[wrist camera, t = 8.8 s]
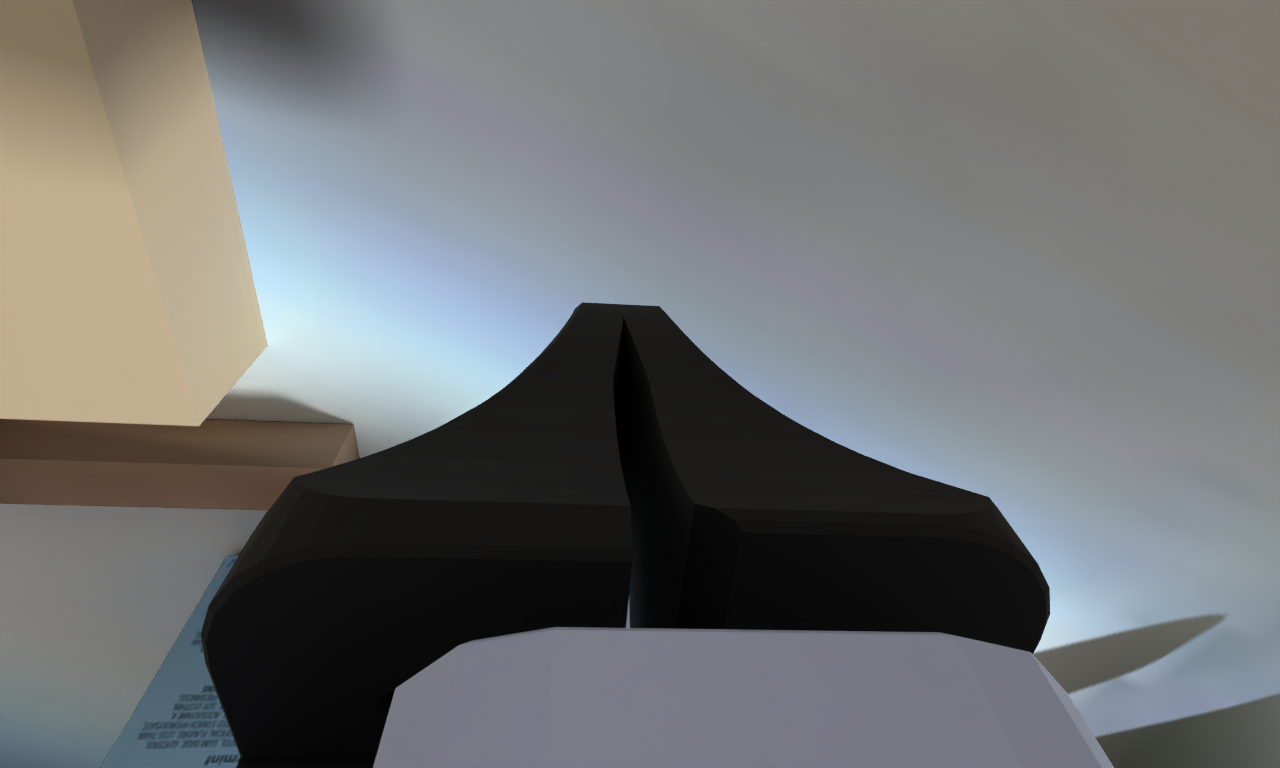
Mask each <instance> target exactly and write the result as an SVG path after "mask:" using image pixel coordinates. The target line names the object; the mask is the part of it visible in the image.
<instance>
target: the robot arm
mask: <svg viewBox="0 0 1280 768" xmlns="http://www.w3.org/2000/svg"><path fill="white" fill-rule="evenodd" d="M1049 615H1050V594H1049V586H1048V584H1047V582H1046V580H1045V578H1044V576H1043V574H1042V572H1041V570H1040V568H1039V565H1038V563H1037V562H1036V561H1035V559H1034V558H1033V557H1032V555H1031V554H1030V552H1029V551H1028V550H1027V548H1026V547H1025V545H1024V544H1023V543H1022V541H1021V540H1020V538H1019V537H1018V536H1017V534H1016V533H1015V532H1014V530H1013V529H1012V527H1011V526H1010V525H1009V523H1008V522H1007V520H1006V519H1005V518H1004V516H1003V515H1002V514H1001V512H1000V511H999V509H998V508H997V507H996V506H995V504H994V503H993V502H992V500H991V499H990V498H989V497H987V496H983V495H980V494H977V493H973V492H970V491H967V490H964V489H960V488H957V487H954V486H951V485H947V484H944V483H941V482H937V481H934V480H931V479H928V478H924V477H921V476H918V475H914V474H911V473H908V472H906V471H903V470H900V469H898V468H895V467H892V466H890V465H887V464H885V463H882V462H880V461H877V460H875V459H872V458H870V457H867V456H864V455H862V454H860V453H857V452H855V451H853V450H851V449H848V448H846V447H844V446H842V445H840V444H837V443H835V442H833V441H831V440H829V439H827V438H825V437H823V436H822V435H820V434H818V433H816V432H814V431H812V430H810V429H808V428H806V427H804V426H802V425H800V424H799V423H797V422H795V421H793V420H792V419H790V418H788V417H786V416H785V415H783V414H782V413H780V412H778V411H777V410H775V409H774V408H772V407H771V406H769V405H768V404H766V403H765V402H763V401H762V400H760V399H759V398H757V397H756V396H754V395H753V394H752V393H750V392H749V391H748V390H746V389H745V388H743V387H742V386H741V385H740V384H738V383H737V382H736V381H735V380H734V379H732V378H731V377H730V376H729V375H728V374H726V373H725V372H724V371H723V370H722V369H720V368H719V367H718V366H717V365H716V364H715V363H714V362H713V361H711V360H710V359H709V358H708V357H707V356H706V355H705V354H704V353H703V352H702V351H701V350H700V349H699V348H698V347H697V346H696V345H695V344H694V343H693V342H692V341H691V340H690V339H689V338H688V337H687V336H686V335H685V334H684V333H683V332H682V331H681V329H680V328H679V327H678V326H677V325H676V324H675V323H674V322H673V321H672V320H671V318H670V317H669V316H668V315H667V314H666V313H665V312H664V311H663V310H662V309H661V308H660V307H659V306H641V305H621V304H601V303H581V304H580V305H579V306H578V307H577V308H575V310H574V312H573V314H572V315H571V317H570V318H569V320H568V321H567V323H566V324H565V326H564V327H563V328H562V330H561V331H560V332H559V333H558V335H557V336H556V337H555V338H554V339H553V340H552V342H551V343H550V344H549V345H548V346H547V347H546V349H545V350H544V351H543V352H542V353H541V354H540V355H539V356H538V357H537V358H536V359H535V360H534V361H533V362H532V363H531V364H530V365H529V366H528V367H527V368H526V369H525V370H524V371H523V372H522V373H521V374H520V375H518V376H517V377H516V378H515V379H514V380H513V381H512V382H510V383H509V384H508V385H507V386H506V387H504V388H503V389H502V390H501V391H499V392H498V393H496V394H495V395H493V396H492V397H491V398H489V399H488V400H486V401H485V402H483V403H482V404H480V405H478V406H476V407H475V408H473V409H471V410H469V411H467V412H466V413H464V414H462V415H460V416H458V417H457V418H455V419H453V420H451V421H449V422H448V423H446V424H444V425H442V426H440V427H438V428H436V429H434V430H432V431H430V432H427V433H425V434H423V435H421V436H418V437H416V438H414V439H412V440H409V441H407V442H404V443H402V444H399V445H396V446H394V447H391V448H389V449H386V450H383V451H381V452H378V453H375V454H372V455H369V456H366V457H363V458H359V459H356V460H353V461H349V462H346V463H343V464H339V465H336V466H332V467H329V468H326V469H322V470H319V471H315V472H312V473H308V474H304V475H300V476H296V477H294V478H293V479H292V480H291V482H290V483H289V484H288V486H287V487H286V489H285V490H284V491H283V492H282V494H281V495H280V496H279V497H278V499H277V500H276V501H275V503H274V504H273V505H272V506H271V508H270V509H269V510H268V511H267V513H266V514H265V516H264V517H263V519H262V520H261V522H260V523H259V525H258V526H257V528H256V529H255V530H254V532H253V533H252V535H251V536H250V538H249V540H248V541H247V543H246V545H245V546H244V548H243V550H242V551H241V553H240V555H239V556H238V558H237V560H236V561H235V563H234V564H233V566H232V568H231V569H230V571H229V573H228V574H227V576H226V578H225V579H224V581H223V583H222V584H221V586H220V588H219V589H218V591H217V592H216V594H215V596H214V597H213V599H212V601H211V602H210V604H209V606H208V610H207V613H206V617H205V620H204V624H203V627H202V631H201V640H202V646H203V652H204V658H205V664H206V667H207V669H208V672H209V674H210V677H211V680H212V682H213V685H214V688H215V690H216V693H217V696H218V698H219V701H220V704H221V706H222V709H223V712H224V714H225V717H226V720H227V722H228V725H229V728H230V730H231V733H232V736H233V738H234V741H235V743H236V746H237V749H238V751H239V754H240V756H241V758H240V760H239V762H238V764H237V767H236V768H1114V767H1113V765H1112V764H1111V762H1110V761H1109V759H1108V758H1107V756H1106V754H1105V753H1104V751H1103V750H1102V748H1101V746H1100V745H1099V743H1098V742H1097V740H1096V738H1095V737H1094V735H1093V734H1092V732H1091V731H1090V729H1089V727H1088V726H1087V724H1086V723H1085V721H1084V719H1083V718H1082V716H1081V715H1080V713H1079V711H1078V710H1077V708H1076V707H1075V705H1074V704H1073V702H1072V700H1071V699H1070V697H1069V696H1068V694H1067V693H1066V692H1065V690H1064V689H1063V688H1062V687H1061V686H1060V685H1059V684H1058V683H1057V681H1056V680H1055V679H1054V678H1053V677H1052V676H1051V675H1050V673H1049V672H1048V671H1047V670H1046V669H1045V668H1044V667H1043V666H1042V664H1041V663H1040V662H1039V661H1038V660H1037V659H1036V658H1035V656H1034V655H1033V653H1034V651H1035V649H1036V647H1037V645H1038V644H1039V642H1040V640H1041V637H1042V634H1043V631H1044V629H1045V626H1046V623H1047V620H1048V618H1049Z"/></svg>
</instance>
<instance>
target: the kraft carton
mask: <svg viewBox="0 0 1280 768" xmlns="http://www.w3.org/2000/svg"><path fill="white" fill-rule="evenodd" d="M267 346H268V344H267V340H266V335H265V331H264V326H263V322H262V317H261V313H260V308H259V304H258V299H257V295H256V290H255V286H254V281H253V277H252V272H251V268H250V263H249V259H248V254H247V250H246V245H245V240H244V236H243V231H242V227H241V222H240V218H239V213H238V209H237V204H236V200H235V195H234V191H233V186H232V182H231V177H230V173H229V168H228V164H227V159H226V155H225V150H224V146H223V141H222V137H221V132H220V128H219V123H218V118H217V114H216V109H215V105H214V100H213V96H212V91H211V87H210V82H209V78H208V73H207V69H206V64H205V60H204V55H203V51H202V46H201V42H200V37H199V33H198V28H197V24H196V19H195V15H194V10H193V6H192V1H191V0H0V419H24V420H50V421H76V422H102V423H128V424H154V425H180V426H200V425H201V424H202V422H203V421H204V420H205V419H206V418H207V416H208V415H209V414H210V413H211V412H212V411H213V409H214V408H215V407H216V406H217V405H218V404H219V402H220V401H221V400H222V399H223V398H224V396H225V395H226V394H227V393H228V392H229V391H230V389H231V388H232V387H233V386H234V385H235V383H236V382H237V381H238V380H239V379H240V378H241V376H242V375H243V374H244V373H245V372H246V371H247V369H248V368H249V367H250V366H251V365H252V363H253V362H254V361H255V360H256V359H257V358H258V356H259V355H260V354H261V353H262V352H263V350H264V349H265V348H266V347H267Z"/></svg>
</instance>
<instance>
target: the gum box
mask: <svg viewBox="0 0 1280 768" xmlns="http://www.w3.org/2000/svg"><path fill="white" fill-rule="evenodd" d="M238 556H239V555H230V556H227V557H226V558H225V559H224V561H223V563H222V564H221V566H220V568H219V569H218V571H217V573H216V575H215V576H214V578H213V580H212V581H211V583H210V585H209V586H208V588H207V590H206V591H205V593H204V595H203V597H202V599H201V600H200V602H199V604H198V605H197V607H196V609H195V610H194V612H193V614H192V615H191V617H190V618H189V620H188V622H187V623H186V625H185V627H184V628H183V630H182V632H181V633H180V635H179V637H178V638H177V640H176V642H175V644H174V645H173V647H172V649H171V650H170V652H169V654H168V656H167V657H166V659H165V661H164V662H163V664H162V666H161V667H160V669H159V671H158V672H157V674H156V675H155V677H154V679H153V680H152V682H151V684H150V685H149V687H148V689H147V691H146V692H145V694H144V696H143V697H142V699H141V701H140V703H139V704H138V706H137V708H136V710H135V711H134V713H133V715H132V716H131V718H130V720H129V721H128V723H127V724H126V726H125V728H124V729H123V731H122V733H121V734H120V736H119V738H118V739H117V741H116V742H115V744H114V746H113V747H112V749H111V751H110V752H109V754H108V756H107V757H106V759H105V761H104V763H103V764H102V766H101V768H236V767H237V764H238V762H239V760H240V758H241V756H240V754H239V751H238V749H237V746H236V743H235V741H234V738H233V736H232V733H231V730H230V728H229V725H228V722H227V720H226V717H225V714H224V712H223V709H222V706H221V704H220V701H219V698H218V696H217V693H216V690H215V688H214V685H213V682H212V680H211V677H210V674H209V672H208V669H207V667H206V664H205V658H204V652H203V646H202V640H201V631H202V627H203V624H204V620H205V617H206V613H207V610H208V606H209V604H210V602H211V601H212V599H213V597H214V596H215V594H216V592H217V591H218V589H219V588H220V586H221V584H222V583H223V581H224V579H225V578H226V576H227V574H228V573H229V571H230V569H231V568H232V566H233V564H234V563H235V561H236V560H237V558H238Z"/></svg>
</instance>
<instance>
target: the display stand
mask: <svg viewBox="0 0 1280 768" xmlns="http://www.w3.org/2000/svg"><path fill="white" fill-rule="evenodd" d="M356 459H359V455H358V449H357V443H356V437H355V431H354V425H353V424H327V423H298V422H270V421H241V420H212V419H205V420H204V421H203V422H202V424H201V425H200V426H180V425H154V424H128V423H102V422H76V421H50V420H24V419H0V503H3V504H42V505H82V506H122V507H162V508H202V509H241V510H269V509H270V508H271V506H272V505H273V504H274V503H275V501H276V500H277V499H278V497H279V496H280V495H281V494H282V492H283V491H284V490H285V489H286V487H287V486H288V484H289V483H290V482H291V480H292V479H293V478H294V477H296V476H300V475H304V474H308V473H312V472H315V471H319V470H322V469H326V468H329V467H332V466H336V465H339V464H343V463H346V462H349V461H353V460H356Z"/></svg>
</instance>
